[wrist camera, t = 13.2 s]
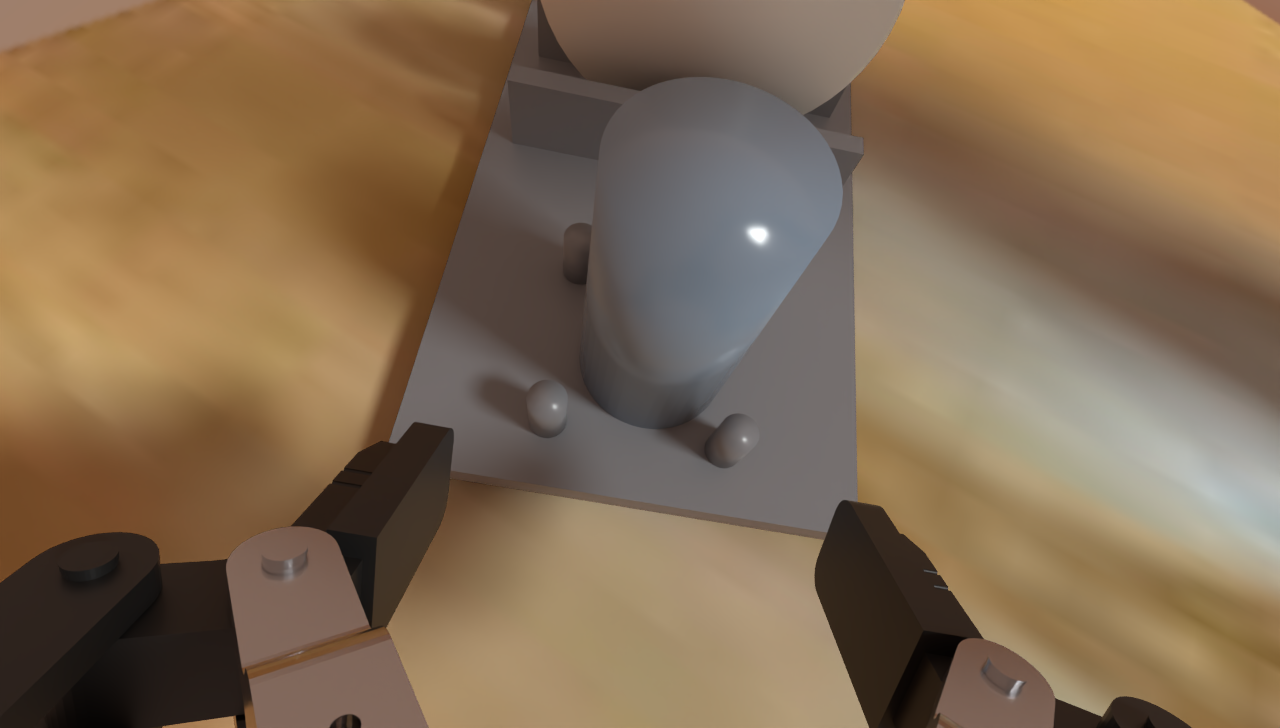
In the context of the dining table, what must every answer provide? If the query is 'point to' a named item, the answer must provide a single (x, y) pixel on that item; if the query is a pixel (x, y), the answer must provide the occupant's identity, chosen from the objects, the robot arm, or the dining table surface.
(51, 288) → the dining table surface
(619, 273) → the grey dome-topped cylinder
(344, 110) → the dining table surface
